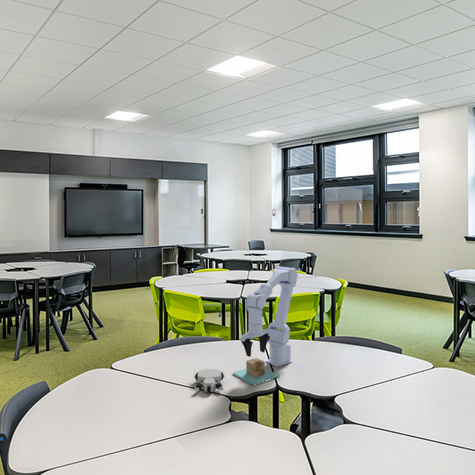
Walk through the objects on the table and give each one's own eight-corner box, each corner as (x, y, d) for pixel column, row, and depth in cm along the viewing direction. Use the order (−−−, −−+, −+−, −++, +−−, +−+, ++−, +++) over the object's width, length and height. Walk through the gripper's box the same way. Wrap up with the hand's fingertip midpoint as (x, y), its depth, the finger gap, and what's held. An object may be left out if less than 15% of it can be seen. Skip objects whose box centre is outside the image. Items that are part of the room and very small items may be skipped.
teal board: (257, 366, 186) (257, 364, 186) (279, 376, 175) (279, 375, 175) (232, 374, 178) (232, 372, 178) (253, 386, 167) (253, 384, 167)
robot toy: (225, 396, 160) (224, 377, 175) (224, 385, 160) (224, 367, 174) (193, 397, 160) (195, 378, 175) (192, 386, 159) (194, 367, 174)
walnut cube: (256, 369, 181) (256, 357, 180) (264, 374, 176) (264, 361, 176) (246, 373, 177) (246, 360, 177) (254, 377, 173) (254, 364, 172)
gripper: (262, 317, 183) (262, 347, 184) (235, 323, 174) (236, 355, 175) (273, 321, 177) (273, 351, 178) (246, 327, 168) (246, 360, 170)
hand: (255, 353), depth 176 cm, fingers open, 7 cm apart
